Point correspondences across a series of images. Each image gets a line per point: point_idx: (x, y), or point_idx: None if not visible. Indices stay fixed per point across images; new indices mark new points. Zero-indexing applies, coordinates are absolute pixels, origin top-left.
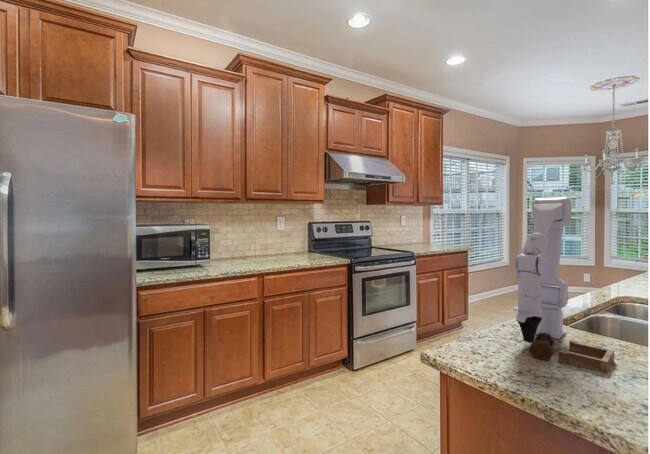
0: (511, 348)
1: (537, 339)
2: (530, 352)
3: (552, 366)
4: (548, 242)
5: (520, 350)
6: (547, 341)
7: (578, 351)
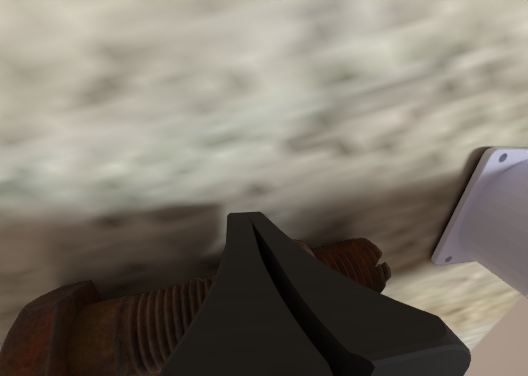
0: (113, 147)
1: None
2: (31, 303)
3: None
4: None
5: (128, 201)
6: None
7: None
